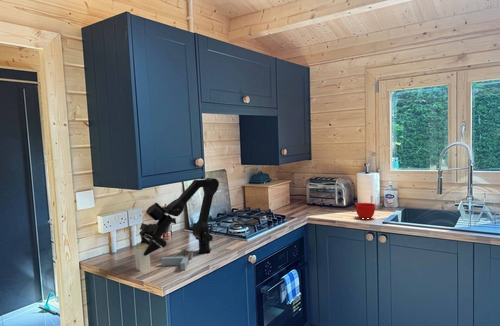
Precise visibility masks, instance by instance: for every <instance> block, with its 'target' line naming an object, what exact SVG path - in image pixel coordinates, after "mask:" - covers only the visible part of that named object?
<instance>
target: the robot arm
mask: <svg viewBox="0 0 500 326" xmlns="http://www.w3.org/2000/svg"><path fill="white" fill-rule="evenodd" d="M219 185H220V182H219V180H218V178H215V177H214V178H213V177H206V178H204V179H194V180H192V182H191V183H190V184H189V186H188V187H187V188H186V189H185V190H184V191H183V192H182V193H181V194H180V195H179V197H177V198H176V199H174V200H172V201H171V202H170V203H168V204H167V206H165V207H162V206H161V205H160V204H159V203H158V202H155V203H153V204H152V205H150V206H149V207H148V208H147V209H146V211H145V213H146V214H147V216H149V217H150V218H152V220H154V221H157V222H156V223H153V224H152V223H148V224H146V223H143V222H142V223H141V225H140V226H139V227H140V228H139V230H140V231H139V233H138V234H139V235H140V239H141V241H140V243H139V244H143V243H146V244H148V245H149V246H148V248H147V249H146V251H145V253H144V256H146V255H148V254H150V255H151V253H154V252H155V251H156V250H157V251H158V250H159V249H161V248H162V249H163V248H165V247H166V246H167V241H166V240H165V239H163V238H162V237H163V235H164V234H167V230H168V228H169V227H170V226H171V224H175V225H177V221H176V220H177V219H176V218H175V217H179V216H180V215H181V214H182V212H183V211H184V209H185V206H186V204H187V203H188V202H189V201H190V200H191V198H192V197H194V195H195V194H196V193H197V192H198V190H200V189H201V188H202V190H203V197H202V198H203V199H202V202H201V207H200V212H199V216H198V220H197V222H193V224H192V229H191V231H192V235H193V237H195V240H198V251H197V254H211V251H212V248H211V246H210V242H212V241H213V238H214V237H213V235H212V234H211V233H209V229H210V228H209V222H208V221H209V218H210V212H211V207H212V204H213V203H212V202H213V199H214V195H215V194H216V193H217V191H218V189H219ZM172 216H173V217H172Z"/></svg>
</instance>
